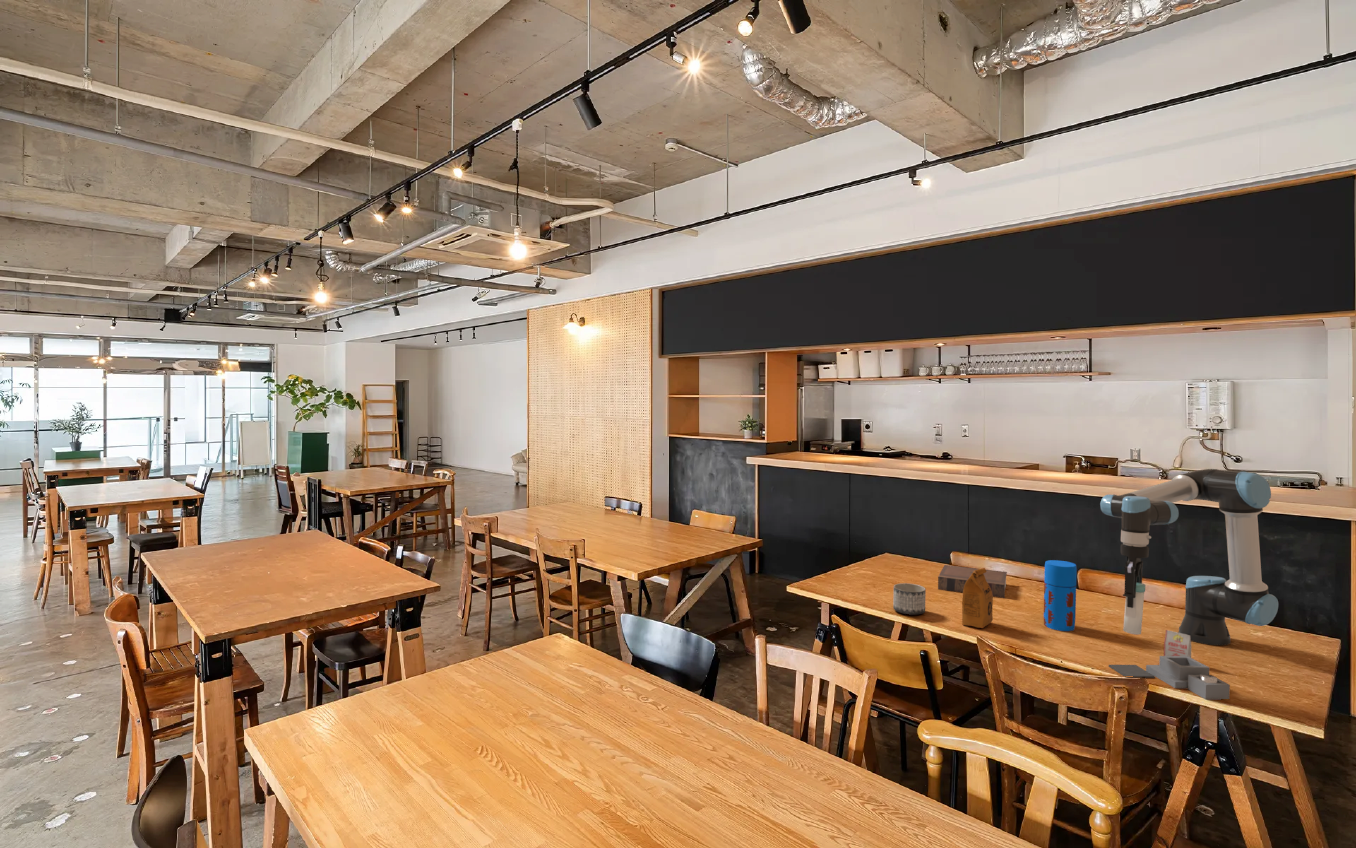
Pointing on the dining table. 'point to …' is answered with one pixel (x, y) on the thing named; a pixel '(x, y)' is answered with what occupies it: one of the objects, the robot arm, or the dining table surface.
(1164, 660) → the housing
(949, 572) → the book
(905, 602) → the planter
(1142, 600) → the white and teal cylinder
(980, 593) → the coffee package
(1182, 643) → the white printed box
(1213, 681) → the shiny grey domed cylinder
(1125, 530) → the robot arm
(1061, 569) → the thermos
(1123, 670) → the mat
